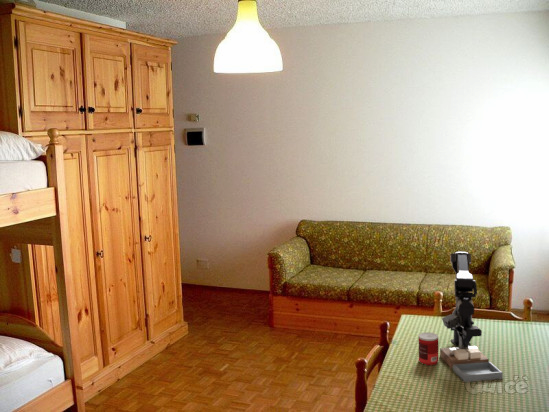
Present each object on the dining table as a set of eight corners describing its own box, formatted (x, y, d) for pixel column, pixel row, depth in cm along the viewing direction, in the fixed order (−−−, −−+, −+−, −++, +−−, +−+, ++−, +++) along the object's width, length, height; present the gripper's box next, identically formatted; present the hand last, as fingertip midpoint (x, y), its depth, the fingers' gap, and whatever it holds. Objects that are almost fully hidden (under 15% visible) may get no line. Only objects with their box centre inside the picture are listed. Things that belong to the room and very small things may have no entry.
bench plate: (440, 356, 241) (440, 348, 240) (472, 353, 242) (472, 345, 242) (454, 370, 227) (454, 362, 226) (488, 367, 228) (488, 359, 228)
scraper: (449, 352, 235) (449, 336, 233) (475, 350, 236) (476, 334, 234) (451, 355, 232) (452, 338, 231) (478, 353, 233) (478, 336, 232)
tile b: (466, 354, 233) (466, 348, 232) (476, 354, 233) (476, 348, 233) (470, 358, 229) (470, 352, 228) (480, 357, 229) (480, 351, 229)
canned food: (439, 359, 238) (439, 333, 236) (436, 367, 231) (436, 340, 229) (420, 356, 241) (420, 331, 240) (416, 364, 234) (416, 338, 232)
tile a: (454, 355, 232) (454, 349, 232) (464, 355, 233) (464, 349, 232) (458, 359, 228) (458, 353, 228) (468, 359, 229) (468, 352, 228)
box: (452, 370, 227) (453, 364, 226) (489, 367, 228) (489, 361, 228) (463, 382, 217) (464, 375, 217) (502, 378, 219) (502, 372, 218)
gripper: (435, 302, 239) (435, 338, 242) (454, 317, 221) (454, 356, 223) (461, 300, 240) (461, 336, 243) (482, 315, 222) (482, 354, 224)
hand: (464, 345), depth 233 cm, fingers closed on scraper, 2 cm apart
